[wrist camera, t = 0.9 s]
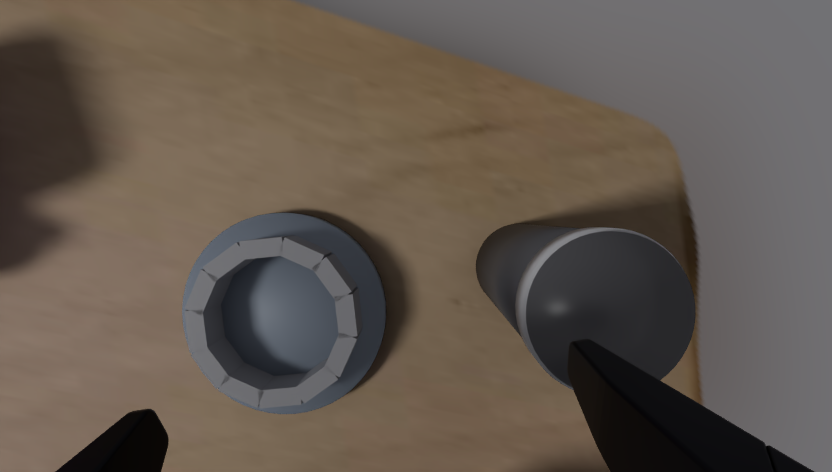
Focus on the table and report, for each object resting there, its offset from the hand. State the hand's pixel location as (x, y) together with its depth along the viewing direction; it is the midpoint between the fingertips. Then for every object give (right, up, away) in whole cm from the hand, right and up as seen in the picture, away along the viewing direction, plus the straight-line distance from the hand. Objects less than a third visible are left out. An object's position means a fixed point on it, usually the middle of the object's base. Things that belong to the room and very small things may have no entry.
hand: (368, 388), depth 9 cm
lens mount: (-7, -1, +16) cm, 18 cm away
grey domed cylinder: (+7, +1, +16) cm, 17 cm away
